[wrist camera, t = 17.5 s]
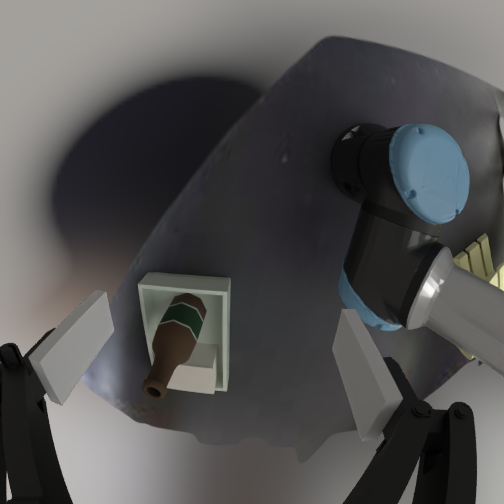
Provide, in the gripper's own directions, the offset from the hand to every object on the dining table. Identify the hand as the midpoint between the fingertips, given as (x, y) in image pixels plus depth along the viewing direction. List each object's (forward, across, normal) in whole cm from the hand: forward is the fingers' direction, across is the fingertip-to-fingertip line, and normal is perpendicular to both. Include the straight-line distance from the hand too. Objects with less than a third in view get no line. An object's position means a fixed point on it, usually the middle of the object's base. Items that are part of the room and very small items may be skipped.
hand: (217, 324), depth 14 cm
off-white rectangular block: (+36, -11, -34) cm, 51 cm away
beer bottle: (+36, -11, -21) cm, 43 cm away
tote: (+37, -11, -27) cm, 47 cm away
